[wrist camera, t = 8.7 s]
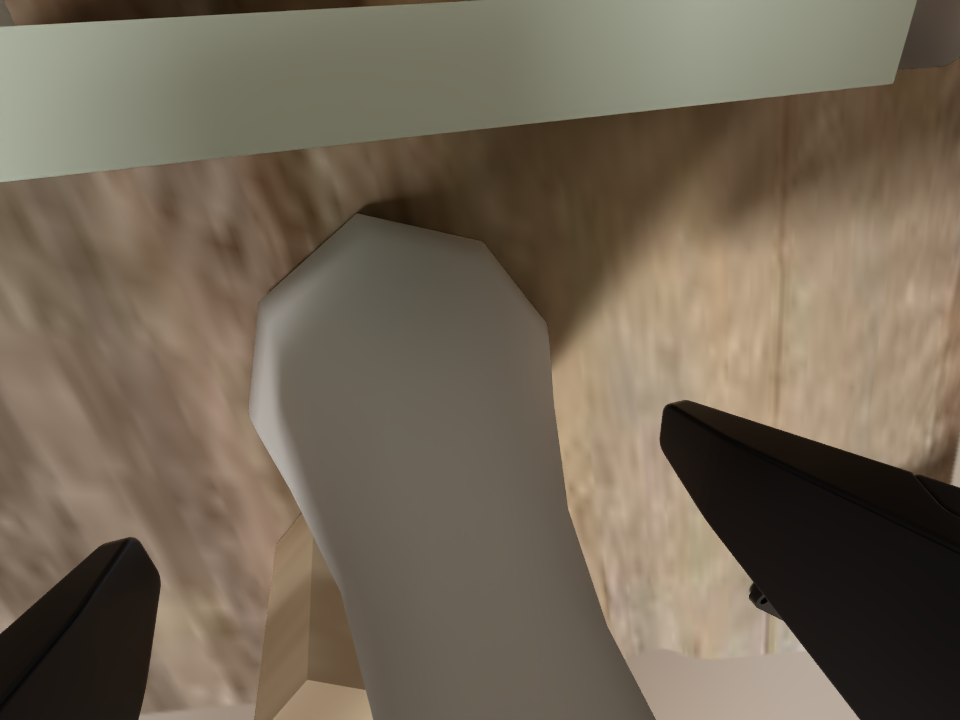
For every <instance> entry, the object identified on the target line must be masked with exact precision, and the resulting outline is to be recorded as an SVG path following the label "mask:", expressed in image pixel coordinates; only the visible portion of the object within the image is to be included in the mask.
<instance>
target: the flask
mask: <svg viewBox="0 0 960 720" xmlns="http://www.w3.org/2000/svg"><path fill="white" fill-rule="evenodd" d="M248 415H249V417H250V419H251V421H252V423H253V425H254V427H255V429H256V431H257V433H258V435H259V436H260V438H261V440H262V442H263V443H264V445H265V447H266V448H267V450H268V452H269V454H270V455H271V457H272V459H273V460H274V462H275V464H276V466H277V467H278V469H279V471H280V473H281V474H282V476H283V478H284V479H285V481H286V483H287V485H288V486H289V488H290V490H291V492H292V494H293V496H294V498H295V500H296V502H297V504H298V506H299V508H300V510H301V512H302V514H303V516H304V518H305V520H306V522H307V525H308V527H309V529H310V531H311V533H312V535H313V537H314V539H315V541H316V543H317V545H318V547H319V549H320V551H321V553H322V555H323V557H324V559H325V561H326V563H327V565H328V567H329V569H330V571H331V573H332V576H333V578H334V580H335V582H336V584H337V586H338V588H339V590H340V592H341V595H342V599H343V603H344V607H345V611H346V615H347V619H348V623H349V627H350V631H351V634H352V638H353V642H354V646H355V650H356V654H357V658H358V662H359V666H360V670H361V674H362V678H363V682H364V685H365V689H366V693H367V697H368V701H369V705H370V709H371V713H372V717H373V720H656V719H655V717H654V715H653V713H652V711H651V709H650V707H649V706H648V704H647V702H646V700H645V698H644V696H643V694H642V692H641V690H640V688H639V686H638V684H637V683H636V681H635V679H634V677H633V675H632V673H631V671H630V669H629V667H628V665H627V663H626V661H625V659H624V658H623V656H622V654H621V652H620V650H619V648H618V646H617V644H616V642H615V640H614V638H613V636H612V635H611V633H610V631H609V629H608V627H607V624H606V621H605V618H604V615H603V612H602V609H601V606H600V604H599V601H598V598H597V595H596V592H595V589H594V586H593V583H592V580H591V577H590V574H589V571H588V568H587V565H586V562H585V559H584V556H583V553H582V550H581V547H580V544H579V541H578V538H577V535H576V532H575V529H574V526H573V523H572V520H571V517H570V514H569V511H568V506H567V498H566V491H565V483H564V476H563V469H562V461H561V454H560V446H559V439H558V431H557V424H556V417H555V409H554V401H553V387H552V372H551V358H550V344H549V336H548V329H547V324H546V322H545V321H544V320H543V318H542V317H541V316H540V315H539V313H538V312H537V311H536V309H535V308H534V307H533V305H532V304H531V303H530V302H529V300H528V299H527V298H526V296H525V295H524V294H523V293H522V291H521V290H520V289H519V287H518V286H517V285H516V284H515V282H514V281H513V280H512V278H511V277H510V276H509V275H508V273H507V272H506V271H505V269H504V268H503V267H502V266H501V264H500V263H499V262H498V260H497V259H496V258H495V257H494V255H493V254H492V253H491V251H490V250H489V249H488V247H487V246H486V245H485V244H484V242H483V241H479V240H474V239H470V238H465V237H461V236H456V235H452V234H447V233H443V232H438V231H434V230H429V229H425V228H420V227H416V226H411V225H407V224H402V223H398V222H393V221H389V220H384V219H380V218H375V217H371V216H366V215H362V214H355V215H354V216H353V217H352V218H351V219H350V220H349V221H348V222H347V223H345V224H344V225H343V226H342V227H341V228H340V229H339V230H338V231H337V232H335V233H334V234H333V235H332V236H331V237H330V238H329V239H328V240H327V241H326V242H324V243H323V244H322V245H321V246H320V247H319V248H318V249H317V250H316V251H314V252H313V253H312V254H311V255H310V256H309V257H308V258H307V259H306V260H304V261H303V262H302V263H301V264H300V265H299V266H298V267H297V268H296V269H294V270H293V271H292V272H291V273H290V274H289V275H288V276H287V277H286V278H285V279H283V280H282V281H281V282H280V283H279V284H278V285H277V286H276V287H275V288H273V289H272V290H271V291H270V292H269V293H268V294H267V295H266V296H265V297H263V298H262V299H261V300H260V301H259V302H258V314H257V325H256V336H255V347H254V358H253V369H252V380H251V392H250V403H249V414H248Z"/></svg>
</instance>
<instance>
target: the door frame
mask: <svg viewBox="0 0 960 720" xmlns="http://www.w3.org/2000/svg"><path fill="white" fill-rule="evenodd" d="M959 57H960V0H917V2H916V6H915V9H914V13H913V16H912V20H911V23H910V27H909V30H908V34H907V37H906V41H905V44H904V48H903V51H902V55H901V58H900V62H899V65H898V69H897V70H901V69H915V68H929V67H942V66H946V65H949V64H951V63H952V62H954V61H955V60H956V59H958V58H959ZM254 718H255V719H254V720H372V719H373V717H372V713H371V709H370V705H369V701H368V697H367V693H366V689H365V685H364V682H363V678H362V674H361V670H360V666H359V662H358V658H357V654H356V650H355V646H354V642H353V638H352V634H351V631H350V627H349V623H348V619H347V615H346V611H345V607H344V603H343V599H342V595H341V592H340V590H339V588H338V586H337V584H336V582H335V580H334V578H333V576H332V573H331V571H330V569H329V567H328V565H327V563H326V561H325V559H324V557H323V555H322V553H321V551H320V549H319V547H318V545H317V543H316V541H315V539H314V537H313V535H312V533H311V531H310V529H309V527H308V525H307V522H306V520H305V518H304V516H303V514H302V513H301V514H300V516H299V517H298V518H297V519H296V521H295V522H294V523H293V525H292V526H291V527H290V528H289V530H288V531H287V532H286V533H285V535H284V536H283V537H282V539H281V540H280V541H279V542H278V544H277V545H276V548H275V556H274V564H273V572H272V580H271V588H270V596H269V604H268V612H267V620H266V629H265V637H264V645H263V653H262V661H261V669H260V677H259V685H258V693H257V701H256V709H255V717H254Z"/></svg>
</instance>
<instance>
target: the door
mask: <svg viewBox="0 0 960 720" xmlns="http://www.w3.org/2000/svg"><path fill="white" fill-rule="evenodd" d="M916 2H917V0H477V1H459V2H440V3H422V4H404V5H386V6H368V7H350V8H332V9H314V10H296V11H278V12H260V13H242V14H224V15H206V16H188V17H170V18H152V19H134V20H116V21H98V22H79V23H61V24H43V25H25V26H15V24H14V21H13V19H12V17H11V15H10V13H9V10H8V8H7V6H6V4H5V2H4V0H0V182H6V181H16V180H25V179H34V178H43V177H52V176H61V175H70V174H79V173H88V172H97V171H106V170H115V169H124V168H134V167H143V166H152V165H161V164H170V163H179V162H188V161H197V160H206V159H215V158H224V157H233V156H242V155H251V154H261V153H270V152H279V151H288V150H297V149H306V148H315V147H324V146H333V145H342V144H351V143H360V142H369V141H378V140H388V139H397V138H406V137H415V136H424V135H433V134H442V133H451V132H460V131H469V130H478V129H487V128H496V127H505V126H515V125H524V124H533V123H542V122H551V121H560V120H569V119H578V118H587V117H596V116H605V115H614V114H623V113H632V112H642V111H651V110H660V109H669V108H678V107H687V106H696V105H705V104H714V103H723V102H732V101H741V100H750V99H759V98H769V97H778V96H787V95H796V94H805V93H814V92H823V91H832V90H841V89H850V88H859V87H868V86H877V85H887V84H893V83H894V79H895V76H896V72H897V69H898V65H899V62H900V58H901V55H902V51H903V48H904V44H905V41H906V37H907V34H908V30H909V27H910V23H911V20H912V16H913V13H914V9H915V6H916Z"/></svg>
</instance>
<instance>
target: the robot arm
mask: <svg viewBox="0 0 960 720" xmlns="http://www.w3.org/2000/svg"><path fill="white" fill-rule="evenodd" d="M660 445H661V449H662V451H663V453H664V455H665V456H666V458H667V459H668V461H669V463H670V464H671V466H672V467H673V469H674V471H675V472H676V474H677V475H678V477H679V479H680V480H681V482H682V483H683V485H684V487H685V488H686V490H687V491H688V493H689V495H690V496H691V498H692V499H693V501H694V503H695V504H696V506H697V507H698V509H699V510H700V512H701V513H702V515H703V516H704V518H705V519H706V521H707V522H708V523H709V525H710V526H711V527H712V529H713V530H714V532H715V533H716V534H717V535H718V537H719V538H720V539H721V541H722V542H723V543H724V544H725V546H726V547H727V548H728V550H729V551H730V552H731V553H732V555H733V556H734V557H735V559H736V560H737V561H738V563H739V564H740V565H741V566H742V568H743V569H744V570H745V572H746V573H747V574H748V575H749V577H750V578H751V579H752V581H753V582H754V583H755V585H756V586H757V587H756V588H755V589H754V590H753V591H752V592H751V593H750V595H749V599H750V600H751V601H752V602H753V604H754V605H755V606H756V607H757V608H759V609H761V610H763V611H765V612H767V613H769V614H771V615H773V616H775V617H777V618H779V619H781V620H783V621H784V622H785V623H786V625H787V626H788V627H789V628H790V630H791V631H792V632H793V634H794V635H795V636H796V638H797V639H798V640H799V641H800V643H801V644H802V645H803V647H804V648H805V649H806V650H807V652H808V653H809V654H810V656H811V657H812V658H813V659H814V661H815V662H816V663H817V665H818V666H819V667H820V669H821V670H822V671H823V672H824V673H825V675H826V676H827V678H828V679H829V680H830V681H831V683H832V684H833V685H834V687H835V688H836V689H837V690H838V692H839V693H840V694H841V695H842V697H843V698H844V700H845V701H846V702H847V703H848V705H849V706H850V707H851V709H852V710H853V711H854V712H855V714H856V715H857V716H858V718H859V719H860V720H960V488H959V487H956V486H953V485H950V484H946V483H943V482H940V481H937V480H934V479H931V478H928V477H925V476H922V475H918V474H917V475H914V474H913V473H911V472H909V471H906V470H903V469H900V468H897V467H894V466H890V465H887V464H884V463H881V462H878V461H875V460H872V459H869V458H866V457H863V456H859V455H856V454H853V453H850V452H847V451H844V450H841V449H838V448H835V447H832V446H828V445H825V444H822V443H819V442H816V441H813V440H810V439H807V438H804V437H801V436H797V435H794V434H791V433H788V432H785V431H782V430H779V429H776V428H773V427H770V426H766V425H763V424H760V423H757V422H754V421H751V420H748V419H745V418H742V417H739V416H736V415H732V414H729V413H726V412H723V411H720V410H717V409H714V408H711V407H708V406H705V405H701V404H698V403H695V402H692V401H689V400H682V401H678V402H674V403H670V404H667V405H666V406H665V407H664V409H663V415H662V423H661V431H660ZM160 586H161V582H160V576H159V572H158V570H157V568H156V567H155V565H154V564H153V562H152V560H151V559H150V557H149V555H148V554H147V552H146V551H145V549H144V547H143V546H142V544H141V543H140V541H139V540H137V539H136V538H133V537H128V538H124V539H120V540H116V541H112V542H108V543H105V544H103V545H101V546H100V547H98V548H97V549H96V550H95V551H94V552H92V553H91V554H90V555H89V556H88V557H87V558H86V559H85V560H83V561H82V562H81V563H80V564H79V565H78V566H77V567H76V568H74V569H73V570H72V571H71V572H70V573H69V574H68V575H66V576H65V577H64V578H63V579H62V580H61V581H60V582H59V583H57V584H56V585H55V586H54V587H53V588H52V589H51V590H50V591H48V592H47V593H46V594H45V595H44V596H43V597H42V598H40V599H39V600H38V601H37V602H36V603H35V604H34V605H33V606H31V607H30V608H29V609H28V610H27V611H26V612H25V613H23V614H22V615H21V616H20V617H19V618H18V619H17V620H16V621H14V622H13V623H12V624H11V625H10V626H9V627H8V628H7V629H5V630H4V631H3V632H2V633H1V634H0V720H138V719H139V715H140V711H141V707H142V702H143V698H144V694H145V689H146V683H147V678H148V672H149V665H150V658H151V651H152V644H153V637H154V630H155V623H156V616H157V609H158V602H159V595H160Z"/></svg>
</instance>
